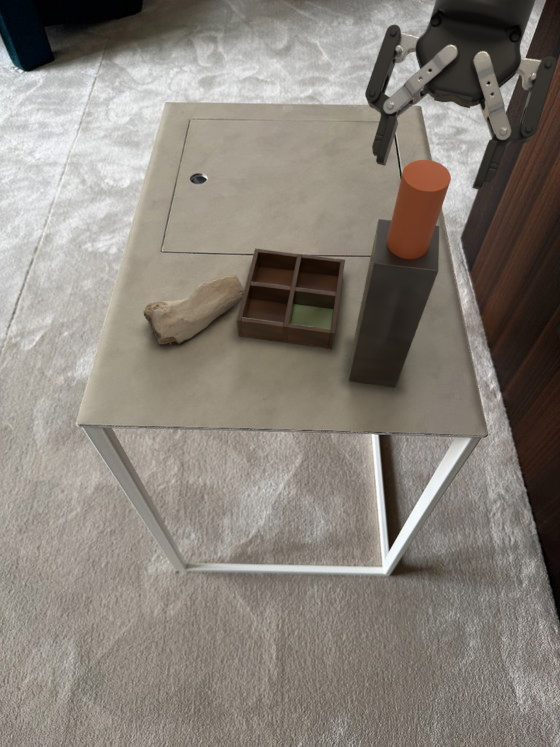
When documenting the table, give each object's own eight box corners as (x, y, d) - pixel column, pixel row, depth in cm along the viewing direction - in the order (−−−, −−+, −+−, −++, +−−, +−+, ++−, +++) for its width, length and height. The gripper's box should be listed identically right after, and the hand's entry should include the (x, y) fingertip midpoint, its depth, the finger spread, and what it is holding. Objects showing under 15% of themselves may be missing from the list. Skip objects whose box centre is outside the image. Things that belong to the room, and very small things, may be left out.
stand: (397, 349, 72) (439, 225, 54) (395, 387, 69) (438, 271, 51) (353, 343, 73) (378, 218, 54) (348, 381, 70) (374, 263, 51)
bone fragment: (163, 355, 72) (156, 334, 68) (145, 321, 75) (137, 299, 71) (254, 315, 75) (252, 293, 71) (233, 285, 78) (231, 262, 74)
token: (429, 231, 53) (451, 162, 46) (427, 261, 51) (450, 194, 44) (388, 226, 53) (403, 157, 47) (385, 256, 51) (401, 188, 45)
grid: (342, 276, 79) (345, 259, 76) (332, 349, 72) (334, 333, 69) (256, 265, 80) (255, 248, 77) (238, 336, 74) (236, 320, 70)
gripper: (406, -77, 41) (343, 148, 45) (604, -45, 38) (517, 191, 42) (409, -27, 48) (355, 163, 52) (577, 3, 45) (505, 201, 49)
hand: (428, 175), depth 47 cm, fingers open, 8 cm apart
